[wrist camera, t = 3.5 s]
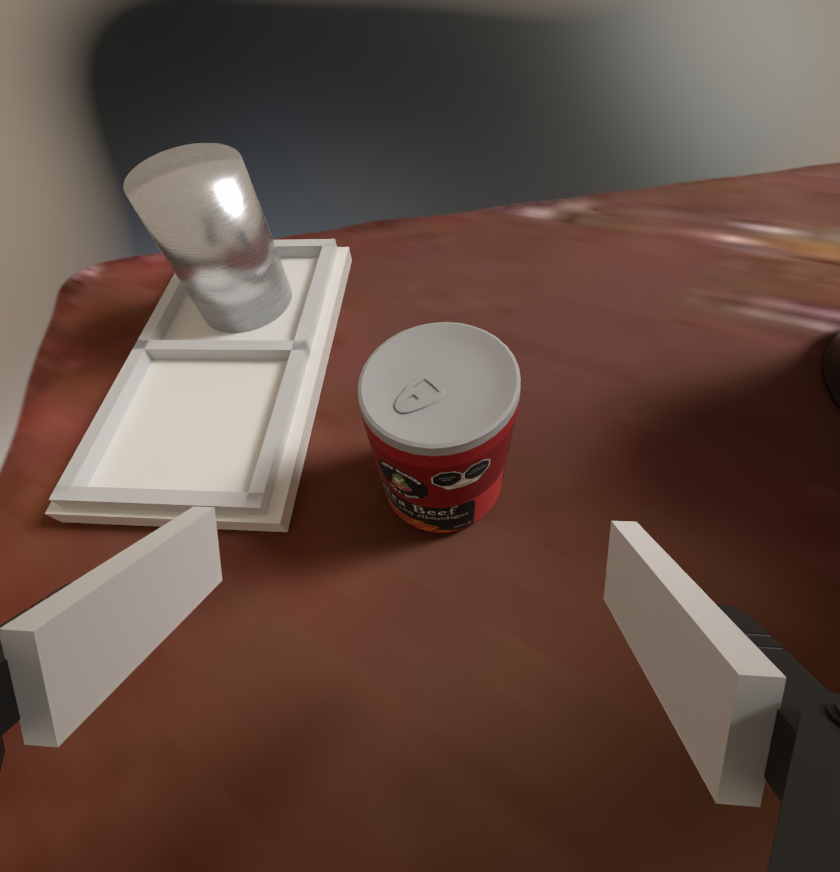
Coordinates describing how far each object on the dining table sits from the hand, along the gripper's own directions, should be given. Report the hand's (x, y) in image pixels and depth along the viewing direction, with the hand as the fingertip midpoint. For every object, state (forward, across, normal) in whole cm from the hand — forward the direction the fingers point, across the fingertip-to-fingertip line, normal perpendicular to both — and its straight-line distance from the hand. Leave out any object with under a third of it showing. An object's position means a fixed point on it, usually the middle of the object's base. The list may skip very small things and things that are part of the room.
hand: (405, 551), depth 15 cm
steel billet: (+26, -17, +10) cm, 33 cm away
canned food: (+16, +1, -3) cm, 16 cm away
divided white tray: (+23, -17, +4) cm, 29 cm away
